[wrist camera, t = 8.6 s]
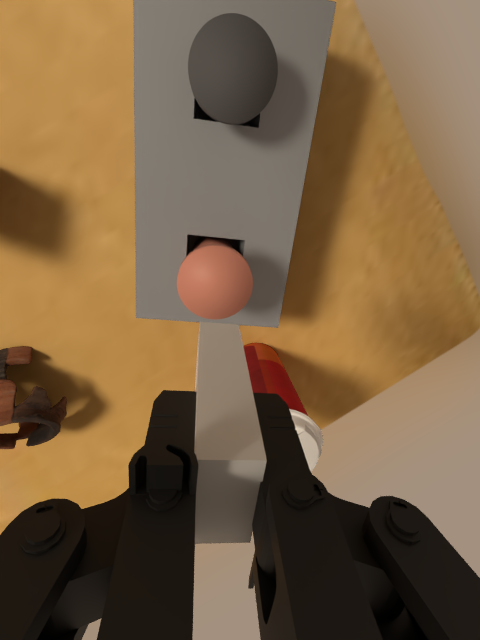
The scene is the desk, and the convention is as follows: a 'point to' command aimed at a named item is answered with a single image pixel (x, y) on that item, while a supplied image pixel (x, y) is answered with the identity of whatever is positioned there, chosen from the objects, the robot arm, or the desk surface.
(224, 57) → the dark gray plug
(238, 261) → the salmon pink plug
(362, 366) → the desk surface
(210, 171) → the block
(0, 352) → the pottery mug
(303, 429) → the paper cup
